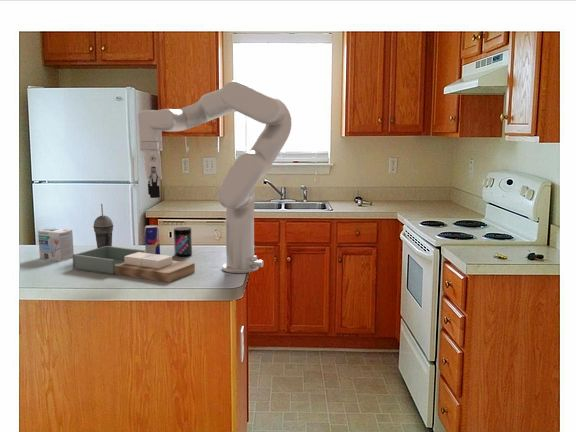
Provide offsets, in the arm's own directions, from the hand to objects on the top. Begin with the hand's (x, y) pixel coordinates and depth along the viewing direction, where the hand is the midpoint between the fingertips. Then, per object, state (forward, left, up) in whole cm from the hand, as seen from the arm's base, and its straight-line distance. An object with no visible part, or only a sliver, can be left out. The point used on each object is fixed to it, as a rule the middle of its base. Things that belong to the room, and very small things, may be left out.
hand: (154, 196), depth 184 cm
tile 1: (0, +9, -22) cm, 24 cm away
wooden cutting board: (-7, +9, -25) cm, 27 cm away
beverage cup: (+26, -2, -25) cm, 36 cm away
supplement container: (0, -16, -25) cm, 29 cm away
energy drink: (+8, -8, -25) cm, 27 cm away
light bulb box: (+40, +8, -25) cm, 48 cm away
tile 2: (-8, +9, -22) cm, 25 cm away
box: (+13, +9, -25) cm, 29 cm away
